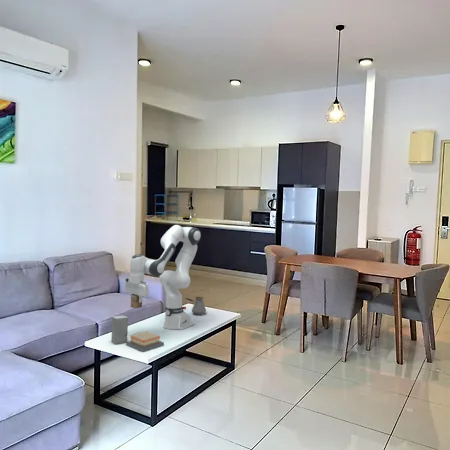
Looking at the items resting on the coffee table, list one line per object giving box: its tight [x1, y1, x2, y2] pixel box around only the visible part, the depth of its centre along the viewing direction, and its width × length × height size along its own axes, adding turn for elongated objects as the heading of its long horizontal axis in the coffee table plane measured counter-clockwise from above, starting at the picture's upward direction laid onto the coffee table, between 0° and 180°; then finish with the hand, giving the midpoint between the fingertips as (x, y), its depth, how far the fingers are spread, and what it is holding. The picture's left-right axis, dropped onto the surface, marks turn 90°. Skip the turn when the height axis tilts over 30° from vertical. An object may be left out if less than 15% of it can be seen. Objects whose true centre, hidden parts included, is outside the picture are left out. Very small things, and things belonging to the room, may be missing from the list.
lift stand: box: [125, 331, 165, 353], centre depth 252 cm, size 16×16×6 cm
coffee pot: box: [183, 296, 207, 316], centre depth 323 cm, size 21×12×15 cm, turn 140°
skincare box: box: [110, 315, 129, 345], centre depth 257 cm, size 8×7×16 cm
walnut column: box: [130, 294, 143, 309], centre depth 266 cm, size 5×5×8 cm
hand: (136, 301), depth 266 cm, fingers closed on walnut column, 5 cm apart
